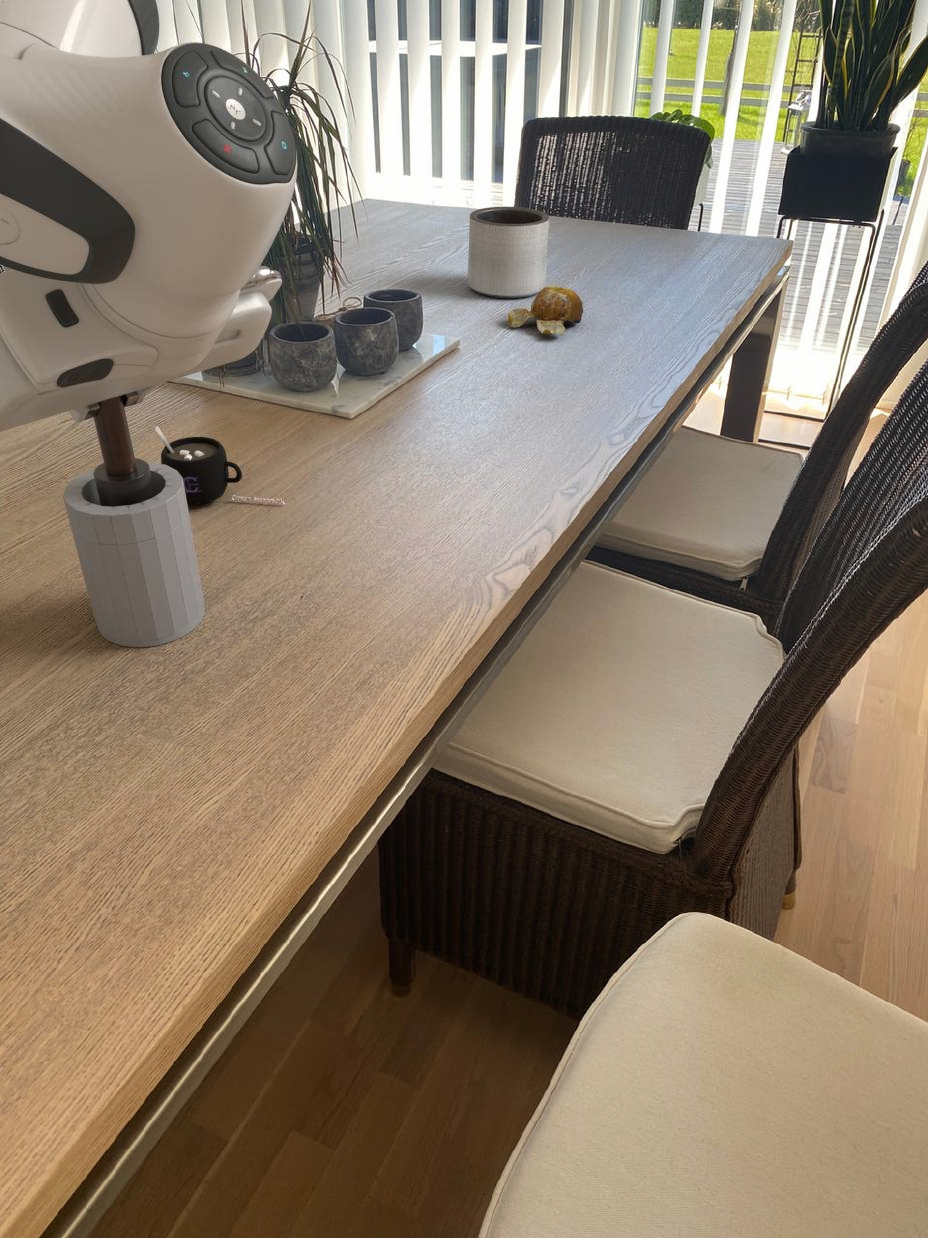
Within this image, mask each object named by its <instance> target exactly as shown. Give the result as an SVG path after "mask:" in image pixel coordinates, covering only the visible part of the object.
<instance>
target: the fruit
mask: <svg viewBox="0 0 928 1238" xmlns="http://www.w3.org/2000/svg"><path fill="white" fill-rule="evenodd" d="M583 305H584V304H583V301H582V299H581V297H580V296H579V294H577V292H576V291H574V290H573V289H570V288H566V287H562V286H545V287H544V288H543V289H542V290H541V291H540V292H538V293H537V294H536V296H535V297H534V299H533V301H532V302H531V305H530V310H528V309H527V308H522V307H518V308H514V309H512V310H510V311H509V312H508V313H507V314H508V324H509V326H510V327H511V328H520V326H522V325H525V322H526V321H527V320H528V319H529V318H531V317H532V318H534V319H535V320H536V328H537V330H539V333H540V334H545V335H552V336H554V335H563V334H564V333H566V328H565V326H564V322H566V321H571V322H573V323H575V324H580V323H581V321H582V317H583V314H584V307H583Z"/></svg>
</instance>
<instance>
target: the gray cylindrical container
mask: <svg viewBox="0 0 928 1238" xmlns="http://www.w3.org/2000/svg"><path fill="white" fill-rule="evenodd" d="M146 462H147V463H148V465H149V467H150V472H151V477H152V482H153V487H154V492H155V497H153V498H151V499H148V500H146V501H144V502H141V503H137V504H133V505H128V506H116V507H108V506H101V504H100V500H99V496H98V491H97V487H96V483H95V479H94V474H93V473H94V470H95V469H96V467H95V468H93V469H89V470H88V471H85V472H83V473H81V474H80V475H78V476H76V477H74V478H73V479H71V481H70V482H69V483H68V484H67V485H66V486H65V487H64V490H63V495H62V499H63V503H64V506H65V511H66V514H67V519H68V522H69V526H70V529H71V533H72V537H73V541H74V544H75V549H76V553H77V556H78V561H79V563H80V568H81V572H82V577H83V580H84V583H85V588H86V592H87V595H88V598H89V603H90V608H91V610H92V614H93V618H94V621H95V624H96V627H97V630H98V632H99V634H100V635H101V636H102V637H103V638H104V639H105V640H107V641H109V642H111V643H113V644H115V645H117V646H122V647H128V648H129V647H130V648H149V647H156V646H161V645H166V644H168V643H171V642H175V641H177V640H179V639H182V638H183V637H185V636H187V635H188V634H189V633H191V632H192V631H194V630H195V629H196V628H197V627H198V626H199V625H200V623H201V622H202V620H203V619H204V616H205V613H206V606H205V598H204V593H203V592H204V591H203V587H202V581H201V574H200V569H199V564H198V558H197V552H196V547H195V546H196V545H195V539H194V535H193V529H192V522H191V518H190V511H189V506H188V505H189V504H187V500H186V494H185V488H184V482H183V478H182V476H181V475H180V474H179V473H178V471H177V470H175V469H173V468H171V467H169V466H167V465H164V464H161V463H160V462H155V461H146Z"/></svg>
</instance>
